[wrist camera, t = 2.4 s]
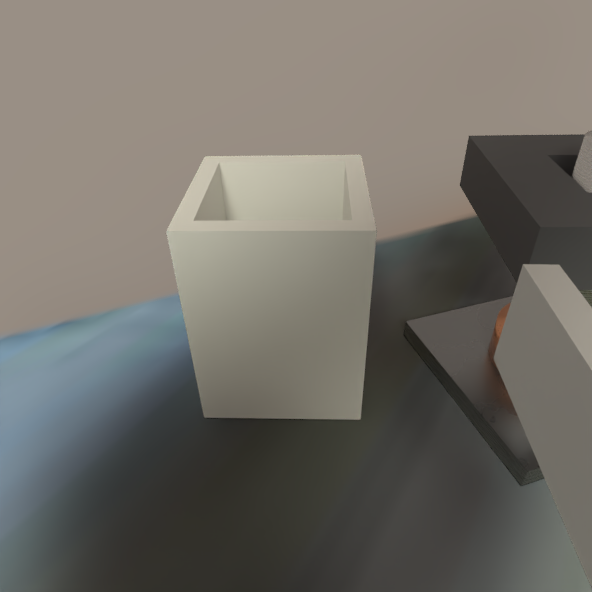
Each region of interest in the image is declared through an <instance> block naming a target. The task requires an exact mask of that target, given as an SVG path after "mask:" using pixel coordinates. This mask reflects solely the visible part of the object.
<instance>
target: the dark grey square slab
mask: <svg viewBox="0 0 592 592" xmlns="http://www.w3.org/2000/svg"><path fill="white" fill-rule="evenodd" d="M584 136H585V135H510V136H509V135H507V136H506V135H505V136H504V135H503V136H469V140H468V145H467V150H466V155H465V160H464V166H463V171H462V176H461V182H460V186H461V188H462V190H463V191H464V193H465V195H466V197H467V198H468V200H469V202H470V203H471V205H472V207H473V209H474V210H475V212H476V214H477V215H478V217H479V219H480V220H481V222H482V224H483V226H484V227H485V229H486V231H487V232H488V234H489V236H490V238H491V239H492V241H493V243H494V244H495V246H496V248H497V250H498V251H499V253H500V255H501V256H502V258H503V260H504V261H505V263H506V265H507V267H508V268H509V270H510V272H511V273H512V275H513V277H514V279H515V280H516V282H518V279H519V275H520V272H521V269H522V266H523V264H548V265H560V266H561V268H562V269H563V270H564V272H565V273H566V274H567V276H568V277H569V278H570V280H571V281H572V282H573V284H574V285H575V286H576V288H577V289H578V290H592V192H586V191H585V190H584V189H583V188H582V187H581V186H580V185H579V184H578V183H577V182H576V181H575V180H574V179H572V178H571V176H572V173H573V170H574V167H575V164H576V161H577V158H578V155H579V152H580V149H581V146H582V143H583V140H584Z"/></svg>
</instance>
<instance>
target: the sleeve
mask: <svg viewBox="0 0 592 592" xmlns="http://www.w3.org/2000/svg"><path fill="white" fill-rule="evenodd" d="M166 233H167V238H168V242H169V247H170V252H171V257H172V262H173V267H174V272H175V277H176V282H177V287H178V292H179V297H180V302H181V306H182V311H183V316H184V321H185V326H186V331H187V336H188V341H189V346H190V351H191V356H192V360H193V365H194V370H195V375H196V380H197V385H198V390H199V395H200V400H201V405H202V410H203V414H204V418H267V419H342V420H361V409H362V397H363V385H364V374H365V362H366V350H367V339H368V327H369V315H370V303H371V292H372V280H373V268H374V257H375V245H376V233H377V230H376V225H375V220H374V215H373V211H372V205H371V200H370V196H369V191H368V186H367V182H366V176H365V171H364V167H363V162H362V157H361V155H308V156H306V155H300V156H206V157H205V158H204V160H203V162H202V163H201V165H200V167H199V169H198V171H197V173H196V175H195V177H194V179H193V181H192V183H191V185H190V187H189V189H188V190H187V192H186V194H185V196H184V198H183V200H182V202H181V204H180V206H179V208H178V210H177V211H176V213H175V215H174V217H173V219H172V221H171V223H170V225H169V227H168V229H167V231H166Z"/></svg>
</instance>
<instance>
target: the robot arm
mask: <svg viewBox="0 0 592 592" xmlns="http://www.w3.org/2000/svg"><path fill="white" fill-rule="evenodd" d="M493 359H494V361H495V363H496V366H497V368H498V370H499V373H500V375H501V377H502V380H503V382H504V384H505V387H506V389H507V391H508V394H509V396H510V398H511V401H512V403H513V405H514V408H515V410H516V412H517V415H518V417H519V419H520V422H521V424H522V426H523V429H524V431H525V433H526V436H527V438H528V440H529V443H530V445H531V448H532V450H533V452H534V455H535V457H536V459H537V462H538V464H539V466H540V469H541V471H542V473H543V476H544V478H545V480H546V483H547V485H548V487H549V490H550V492H551V494H552V497H553V499H554V501H555V504H556V506H557V508H558V511H559V513H560V515H561V518H562V520H563V522H564V525H565V527H566V529H567V532H568V534H569V537H570V539H571V541H572V544H573V546H574V548H575V551H576V553H577V555H578V558H579V560H580V562H581V565H582V567H583V569H584V572H585V574H586V576H587V579H588V581H589V583H590V586H591V588H592V307H591V306H590V305H589V303H588V302H587V301H586V299H585V298H584V297H583V295H582V294H581V293H580V291H579V290H578V289H577V288H576V286H575V285H574V284H573V282H572V281H571V280H570V278H569V277H568V276H567V274H566V273H565V272H564V270H563V269H562V268H561V266H560V265H548V264H523V266H522V269H521V272H520V275H519V279H518V282H517V285H516V288H515V291H514V294H513V298H512V301H511V304H510V307H509V310H508V313H507V317H506V320H505V323H504V326H503V329H502V332H501V336H500V339H499V342H498V345H497V348H496V351H495V355H494V358H493Z"/></svg>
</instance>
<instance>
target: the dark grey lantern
mask: <svg viewBox="0 0 592 592" xmlns="http://www.w3.org/2000/svg"><path fill="white" fill-rule="evenodd" d="M571 178H572V179H574V180H575V181H576V182H577V183H578V184H579V185H580V186H581V187H582V188H583V189H584V190H585V191H586V192H592V131H589V132H587V133H586V134H585V136H584V140H583V143H582V146H581V149H580V152H579V155H578V158H577V161H576V164H575V167H574V170H573V173H572V176H571ZM579 291H580V293H581V294H582V295H583V297H584V298H585V299H586V301H587V302H588V303H589V305H590V306H591V307H592V290H579ZM512 298H513V296H511V297H506V298H502V299H498V300H494V301H489V302H485V303H481V304H477V305H472V306H468V307H464V308H460V309H456V310H451V311H447V312H443V313H439V314H434V315H430V316H426V317H422V318H417V319H413V320H409V321H406V323H405V330H404V336H405V337H406V338H407V340H408V341H409V342H410V344H411V345H412V346H413V347H414V349H415V350H416V351H417V353H418V354H419V355H420V356H421V358H422V359H423V360H424V362H425V363H426V364H427V365H428V367H429V368H430V369H431V371H432V372H433V373H434V374H435V376H436V377H437V378H438V380H439V381H440V382H441V383H442V385H443V386H444V387H445V389H446V390H447V391H448V392H449V394H450V395H451V396H452V398H453V399H454V400H455V401H456V403H457V404H458V405H459V407H460V408H461V409H462V410H463V412H464V413H465V414H466V416H467V417H468V418H469V419H470V421H471V422H472V423H473V425H474V426H475V427H476V428H477V430H478V431H479V432H480V434H481V435H482V436H483V437H484V439H485V440H486V441H487V443H488V444H489V445H490V446H491V448H492V449H493V450H494V452H495V453H496V454H497V455H498V457H499V458H500V459H501V461H502V462H503V463H504V464H505V466H506V467H507V468H508V470H509V471H510V472H511V473H512V475H513V476H514V477H515V479H516V480H517V481H518V482H519V484H520V485H521V486H523V485H526V484H529V483H532V482H535V481H537V480H540V479H543V478H544V476H543V473H542V471H541V469H540V466H539V464H538V462H537V459H536V457H535V455H534V452H533V450H532V448H531V445H530V443H529V440H528V438H527V436H526V433H525V431H524V429H523V426H522V424H521V422H520V419H519V417H518V415H517V412H516V410H515V408H514V405H513V403H512V401H511V398H510V396H509V394H508V391H507V389H506V387H505V384H504V382H503V380H502V377H501V375H500V373H499V370H498V368H497V366H496V363H495V361H494V359H493V358H494V355H495V351H496V348H497V345H498V342H499V339H500V336H501V332H502V329H503V326H504V323H505V320H506V317H507V313H508V310H509V307H510V304H511V301H512Z"/></svg>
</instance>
